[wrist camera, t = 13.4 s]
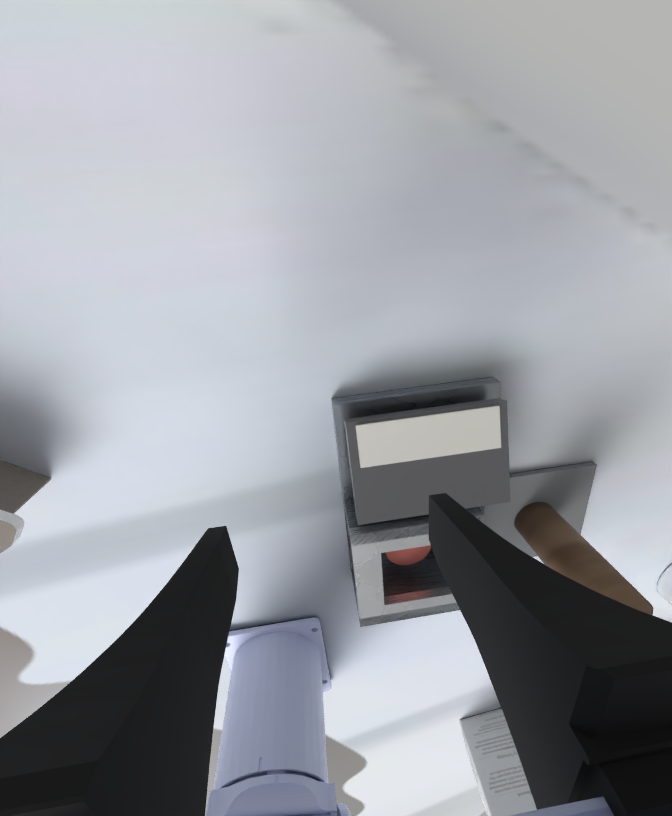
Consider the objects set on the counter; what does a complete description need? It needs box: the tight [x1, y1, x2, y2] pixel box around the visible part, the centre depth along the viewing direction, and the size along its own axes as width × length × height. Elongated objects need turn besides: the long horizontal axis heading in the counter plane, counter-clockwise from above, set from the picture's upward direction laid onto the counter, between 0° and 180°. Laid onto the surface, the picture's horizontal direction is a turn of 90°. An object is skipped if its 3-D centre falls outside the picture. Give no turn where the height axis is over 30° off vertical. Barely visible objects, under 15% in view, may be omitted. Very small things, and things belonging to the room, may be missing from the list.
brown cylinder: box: [514, 502, 653, 615], centre depth 23 cm, size 3×3×8 cm
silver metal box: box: [331, 377, 501, 627], centre depth 23 cm, size 15×10×4 cm, turn 6°
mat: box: [481, 462, 597, 557], centre depth 26 cm, size 8×8×1 cm
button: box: [386, 545, 431, 565], centre depth 25 cm, size 3×3×2 cm
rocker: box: [344, 398, 511, 525], centre depth 20 cm, size 6×9×1 cm, turn 96°
